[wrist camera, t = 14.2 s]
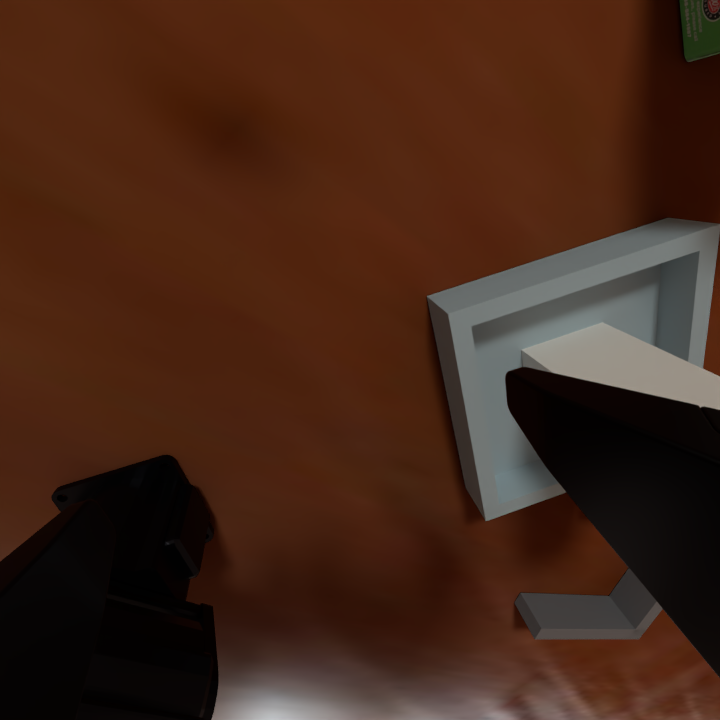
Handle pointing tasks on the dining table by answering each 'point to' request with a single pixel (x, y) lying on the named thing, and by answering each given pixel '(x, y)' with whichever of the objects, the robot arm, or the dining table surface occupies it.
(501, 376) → the tray
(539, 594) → the bay
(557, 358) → the tall beige block
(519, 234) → the dining table surface
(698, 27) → the ink box
